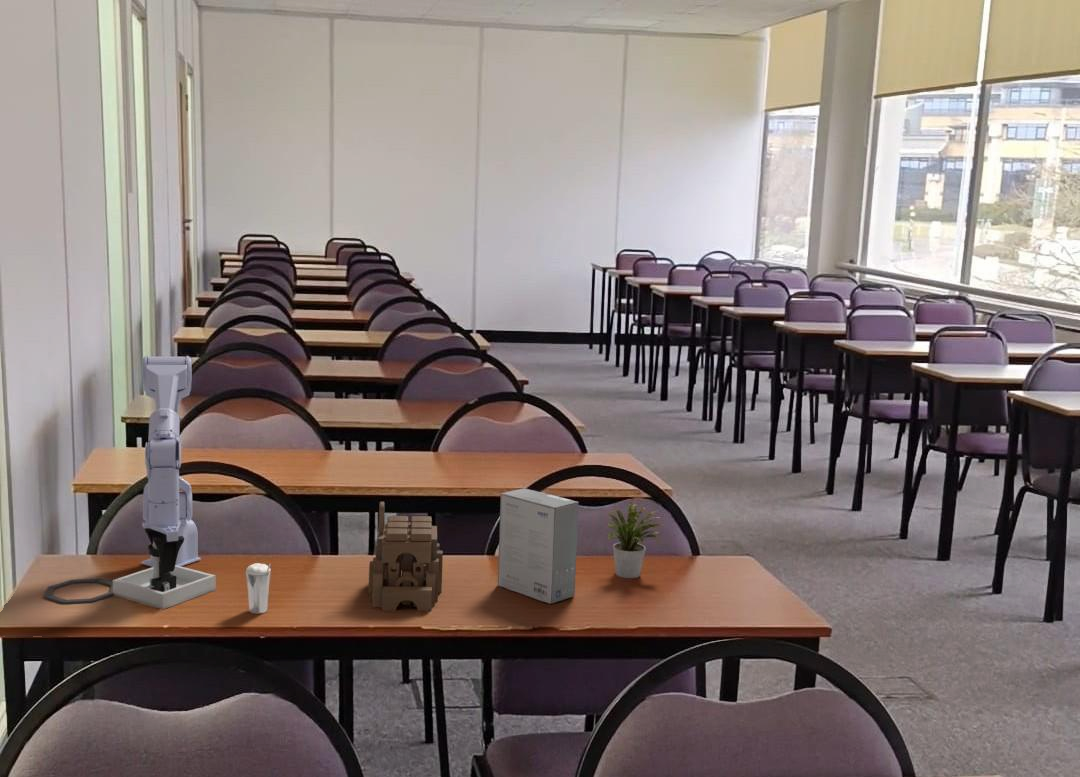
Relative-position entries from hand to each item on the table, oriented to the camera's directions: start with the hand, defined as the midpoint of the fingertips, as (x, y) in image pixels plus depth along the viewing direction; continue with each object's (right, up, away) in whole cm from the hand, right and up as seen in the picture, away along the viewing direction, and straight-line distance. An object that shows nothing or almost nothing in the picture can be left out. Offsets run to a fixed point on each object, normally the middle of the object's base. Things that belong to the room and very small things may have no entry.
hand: (164, 567), depth 224 cm
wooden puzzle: (+46, -6, +7) cm, 47 cm away
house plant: (+92, -6, +23) cm, 95 cm away
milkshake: (+20, -7, -7) cm, 23 cm away
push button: (-1, -5, 0) cm, 5 cm away
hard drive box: (+73, -7, +11) cm, 74 cm away
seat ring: (-16, -5, -1) cm, 17 cm away
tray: (0, -5, +1) cm, 5 cm away
